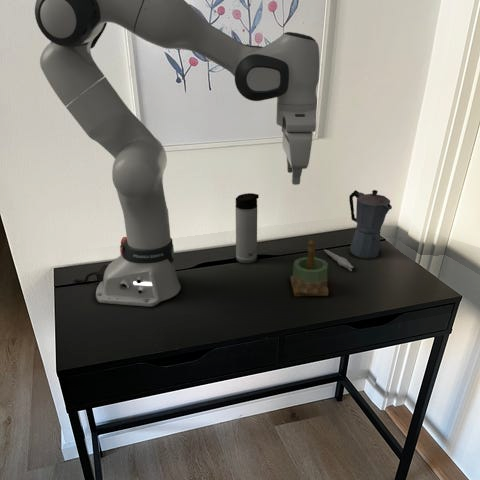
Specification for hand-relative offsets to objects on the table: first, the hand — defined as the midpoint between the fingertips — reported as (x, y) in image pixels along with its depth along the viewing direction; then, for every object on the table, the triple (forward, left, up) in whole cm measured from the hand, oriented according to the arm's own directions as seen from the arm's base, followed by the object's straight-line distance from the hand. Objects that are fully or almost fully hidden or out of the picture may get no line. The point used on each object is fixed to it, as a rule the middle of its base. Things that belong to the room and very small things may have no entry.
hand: (293, 177), depth 122 cm
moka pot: (+26, +24, -31) cm, 47 cm away
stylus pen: (+17, +18, -31) cm, 40 cm away
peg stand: (+6, +2, -31) cm, 32 cm away
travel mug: (-10, +21, -31) cm, 39 cm away
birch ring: (+6, 0, -29) cm, 30 cm away
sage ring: (+6, +1, -26) cm, 27 cm away
